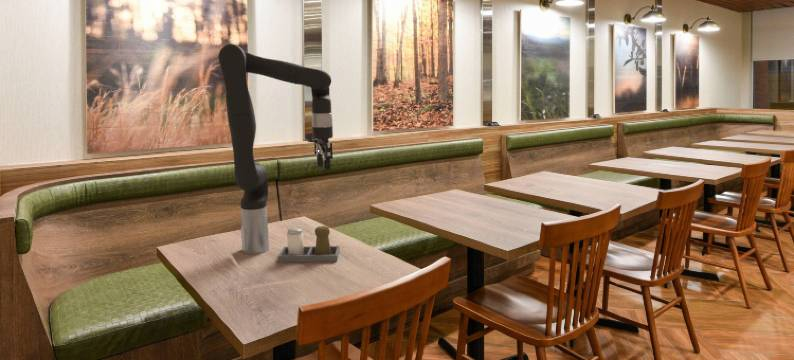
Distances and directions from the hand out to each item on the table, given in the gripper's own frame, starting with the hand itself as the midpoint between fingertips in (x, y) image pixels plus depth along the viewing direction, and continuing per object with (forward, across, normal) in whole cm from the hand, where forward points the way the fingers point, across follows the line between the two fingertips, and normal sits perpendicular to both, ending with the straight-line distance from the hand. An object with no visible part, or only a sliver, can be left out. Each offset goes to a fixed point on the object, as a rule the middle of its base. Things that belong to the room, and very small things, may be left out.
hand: (323, 168), depth 206 cm
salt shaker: (+29, +11, -15) cm, 35 cm away
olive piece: (+30, +15, -6) cm, 34 cm away
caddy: (+30, +13, -10) cm, 34 cm away
